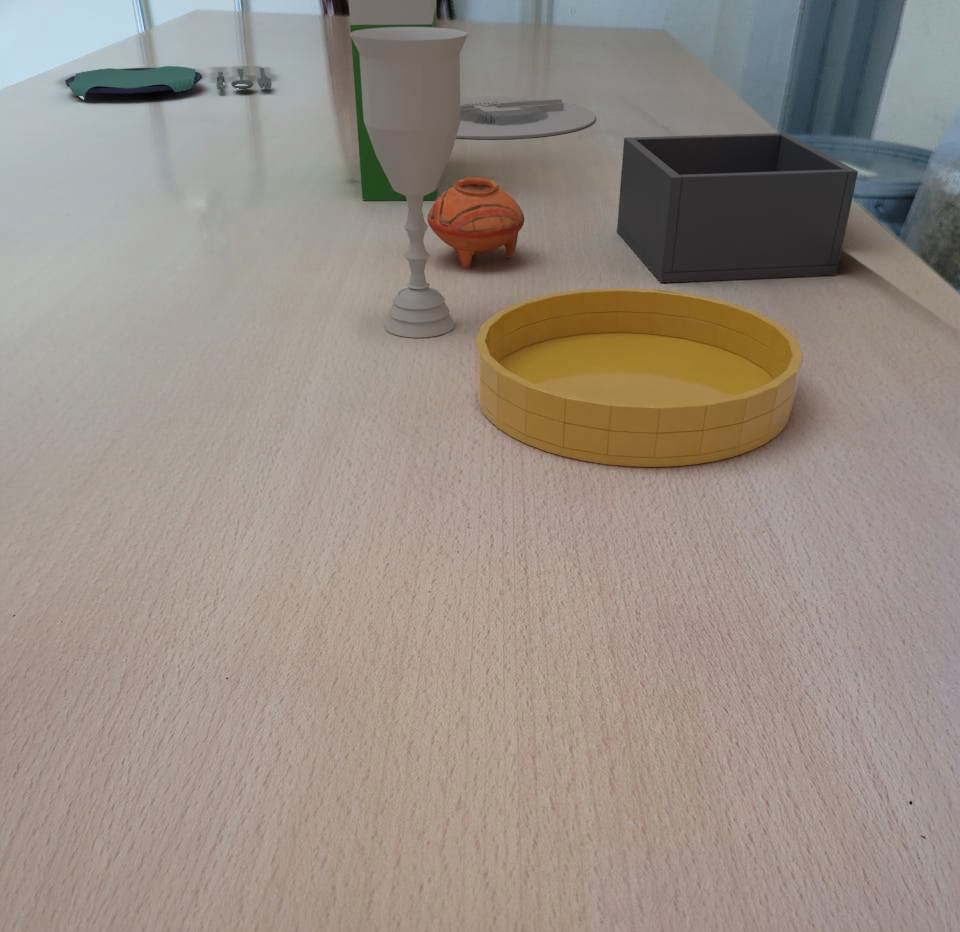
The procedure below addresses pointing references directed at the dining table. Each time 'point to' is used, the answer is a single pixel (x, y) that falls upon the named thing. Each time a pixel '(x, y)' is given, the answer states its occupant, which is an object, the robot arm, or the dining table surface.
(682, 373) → the bowl
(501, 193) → the pot
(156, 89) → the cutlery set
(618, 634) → the dining table surface
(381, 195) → the white green box
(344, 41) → the dining table surface
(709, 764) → the dining table surface
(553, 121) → the plate
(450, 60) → the chalice
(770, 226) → the bin
